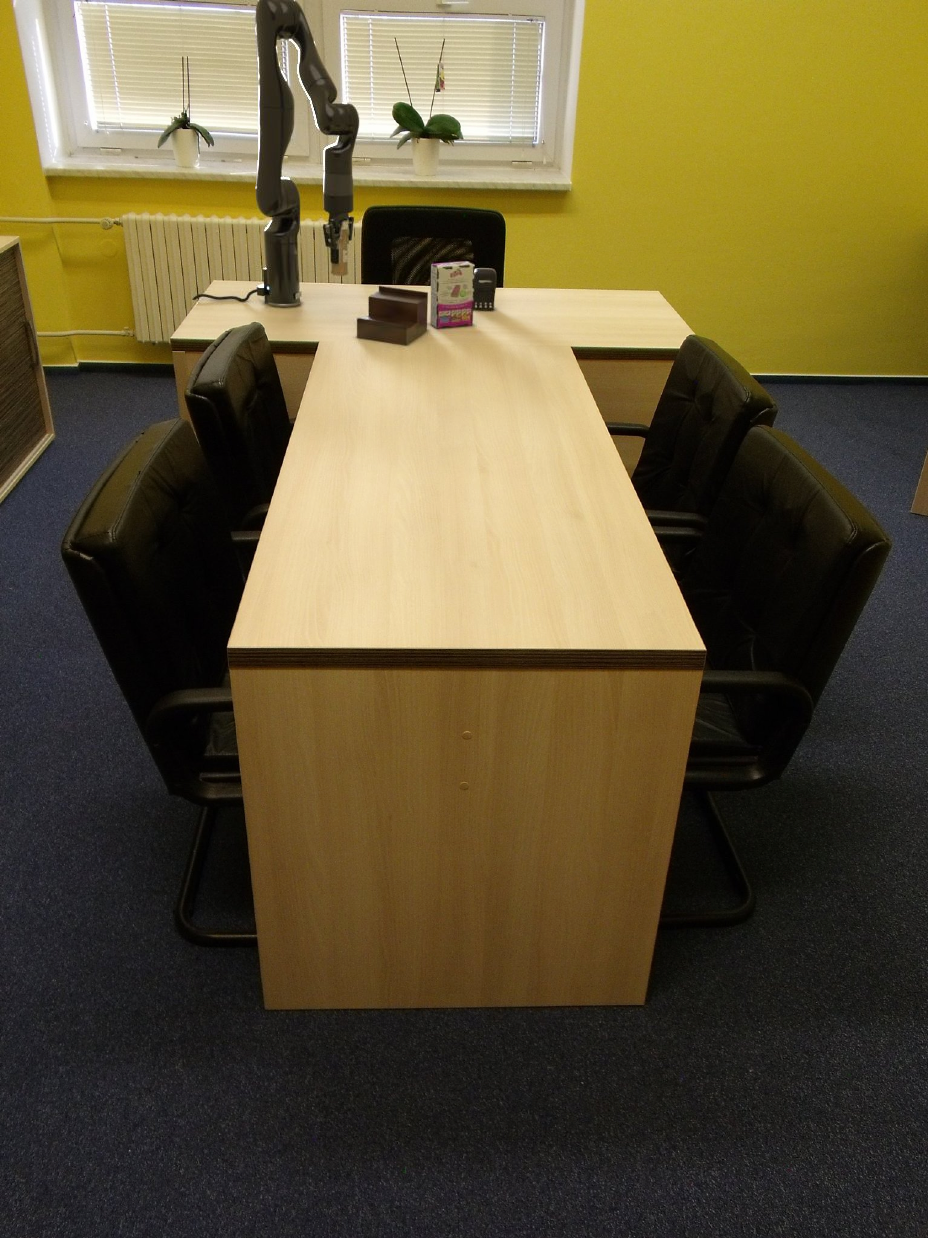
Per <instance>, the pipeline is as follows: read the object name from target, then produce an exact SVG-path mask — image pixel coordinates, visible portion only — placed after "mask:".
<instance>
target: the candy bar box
mask: <svg viewBox="0 0 928 1238" xmlns="http://www.w3.org/2000/svg"><path fill="white" fill-rule="evenodd" d="M475 269H476V268H475V264H474V263H472V262H470V261H466V260H465V261H453V262H440V263H431V264H430V315H429V316H430V317H429V319H430V320H429V321H430V322H429V323H430V325H431V326H432V327H434V328H435V329H439V330H440V329H448V328H459V327H467V326H469V327H470V326H473V323H474V322H473V321H474V309H473V297H474V270H475Z"/></svg>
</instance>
